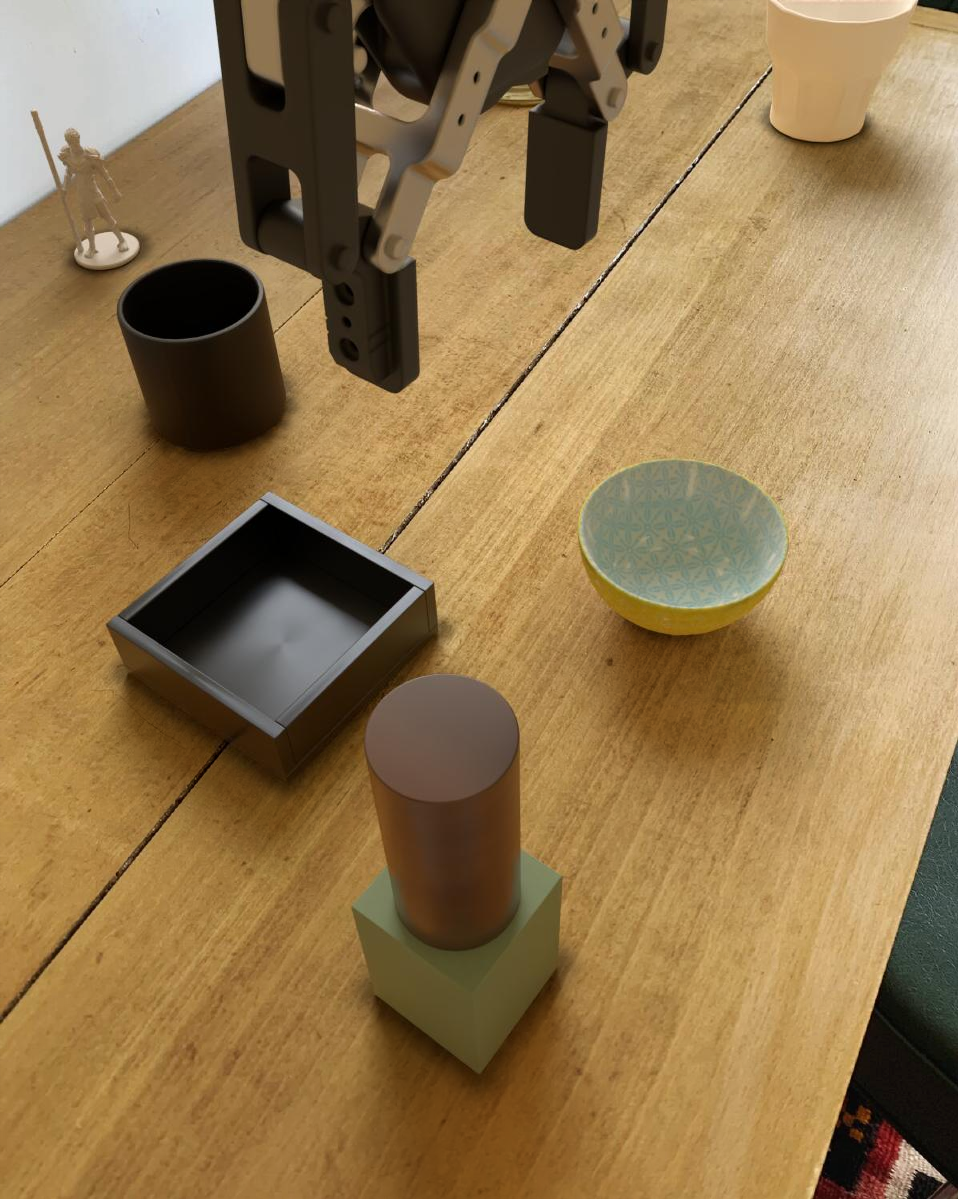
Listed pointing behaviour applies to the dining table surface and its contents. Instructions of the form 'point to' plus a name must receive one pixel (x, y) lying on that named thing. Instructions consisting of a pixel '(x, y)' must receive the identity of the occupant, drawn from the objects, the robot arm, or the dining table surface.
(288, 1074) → the dining table surface
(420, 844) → the tall brown cylinder
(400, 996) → the pale green block
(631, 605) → the bowl
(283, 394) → the mug
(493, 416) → the dining table surface
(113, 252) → the figurine
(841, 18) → the cup
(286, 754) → the open box
